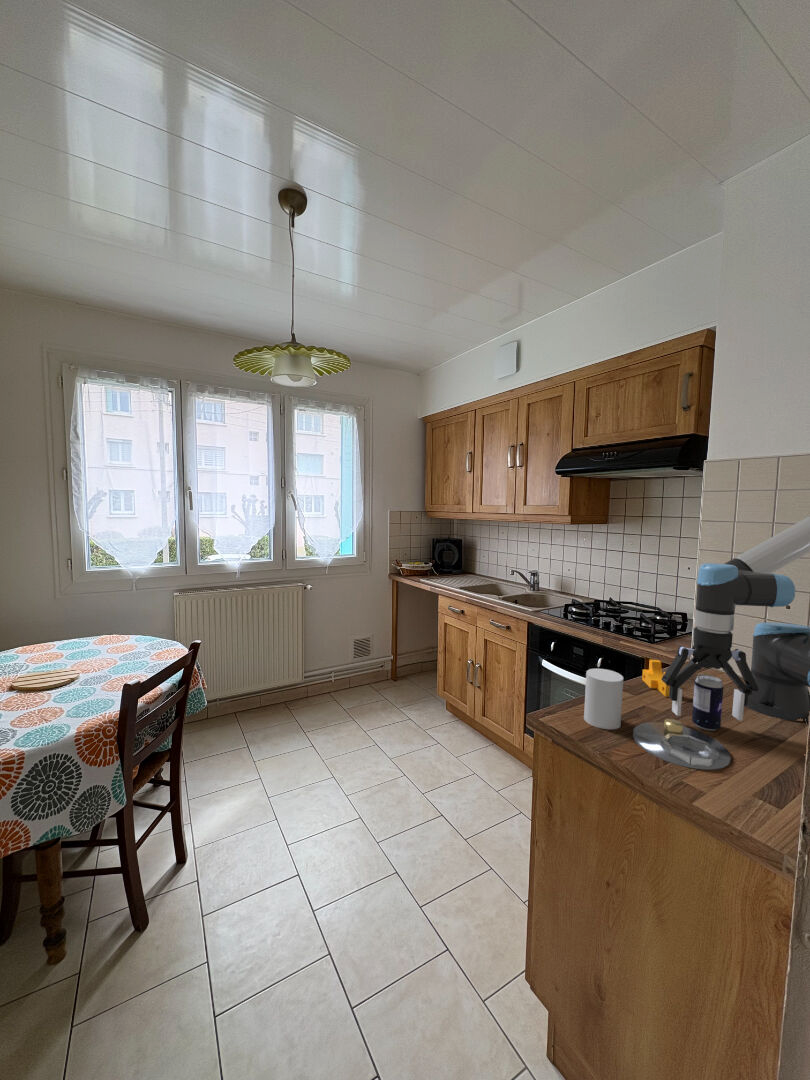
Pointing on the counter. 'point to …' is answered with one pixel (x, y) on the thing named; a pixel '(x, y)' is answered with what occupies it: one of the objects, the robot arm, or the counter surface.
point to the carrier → (681, 745)
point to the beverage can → (707, 702)
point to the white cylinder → (603, 698)
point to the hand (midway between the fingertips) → (706, 715)
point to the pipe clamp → (655, 677)
